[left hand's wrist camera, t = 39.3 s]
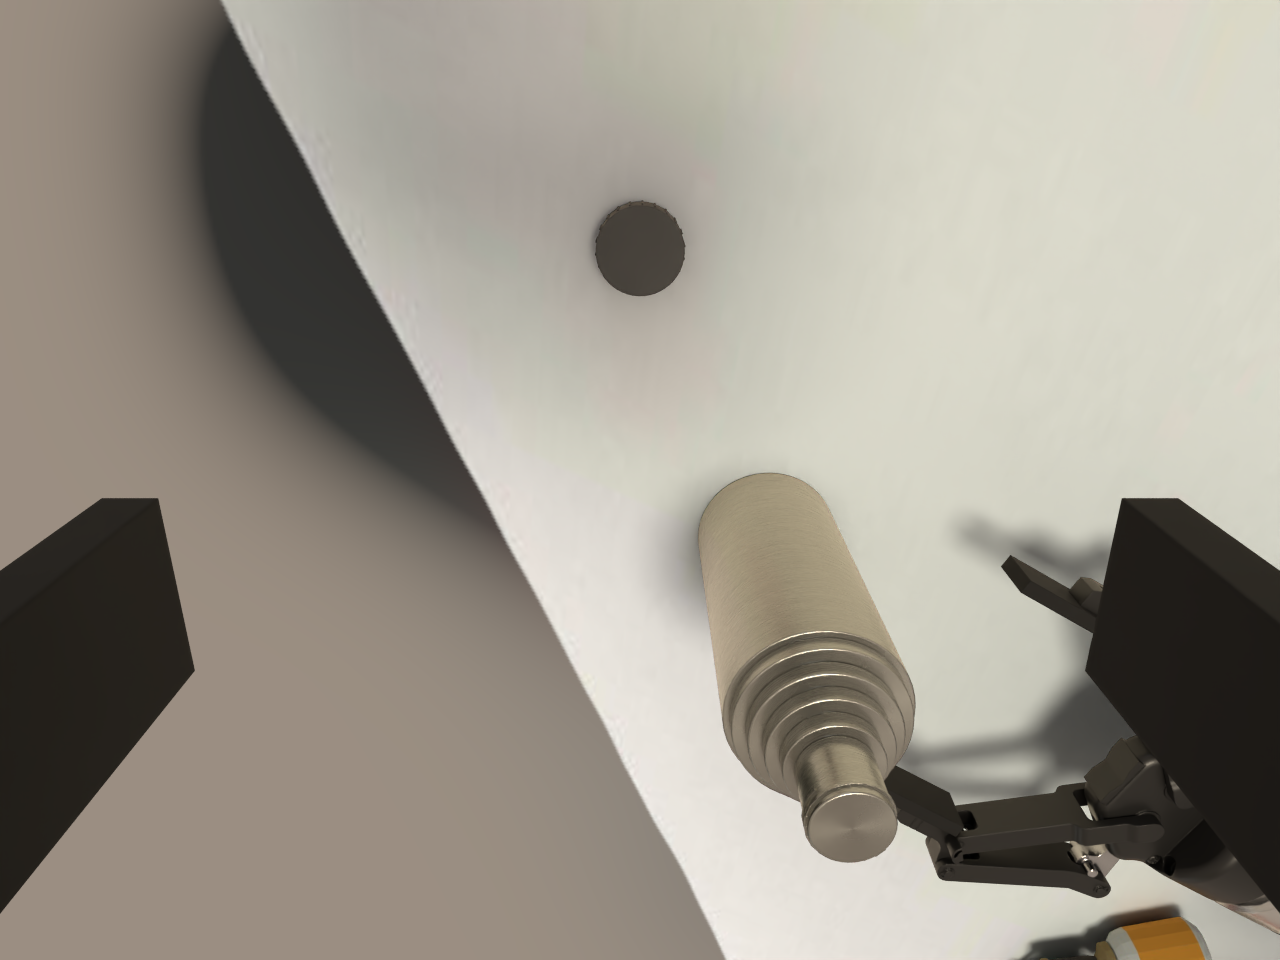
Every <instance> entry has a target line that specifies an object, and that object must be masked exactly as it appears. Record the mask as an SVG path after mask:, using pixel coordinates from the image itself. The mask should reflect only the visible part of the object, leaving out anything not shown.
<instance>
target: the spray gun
mask: <svg viewBox="0 0 1280 960" xmlns="http://www.w3.org/2000/svg"><path fill="white" fill-rule="evenodd" d="M1040 960H1048V959H1047V958H1042V959H1040ZM1050 960H1212V958H1211V955H1210V952H1209V949H1208V947H1207V945H1206V942H1205V940H1204V938H1203V936H1202V934H1201V933H1200V931H1199V930H1198V929H1197V927H1196V926H1194V925H1193V924H1192V923H1190V922H1189V921H1187V920H1186V919H1184V918H1182V917H1174V918H1169V919H1163V920H1158V921H1152V922H1146V923H1141V924H1135V925H1130V926H1124V927H1119V928H1117V929H1115V930H1113V931H1111V932H1109V934H1108V937H1107V939H1106V941H1102V942H1097V944H1096V952H1095V954H1094V956H1078V957H1069V958H1059V959H1050Z"/></svg>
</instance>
